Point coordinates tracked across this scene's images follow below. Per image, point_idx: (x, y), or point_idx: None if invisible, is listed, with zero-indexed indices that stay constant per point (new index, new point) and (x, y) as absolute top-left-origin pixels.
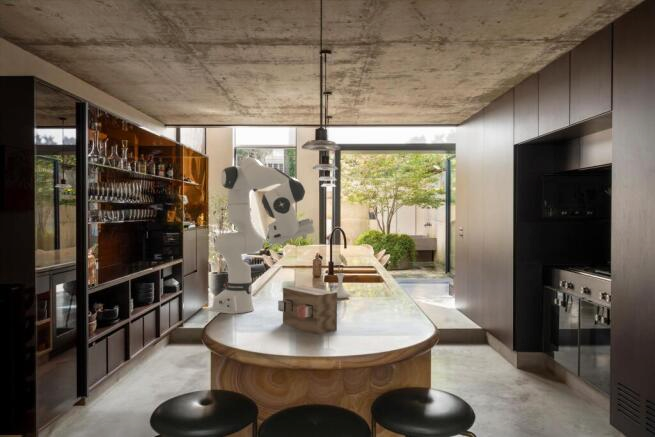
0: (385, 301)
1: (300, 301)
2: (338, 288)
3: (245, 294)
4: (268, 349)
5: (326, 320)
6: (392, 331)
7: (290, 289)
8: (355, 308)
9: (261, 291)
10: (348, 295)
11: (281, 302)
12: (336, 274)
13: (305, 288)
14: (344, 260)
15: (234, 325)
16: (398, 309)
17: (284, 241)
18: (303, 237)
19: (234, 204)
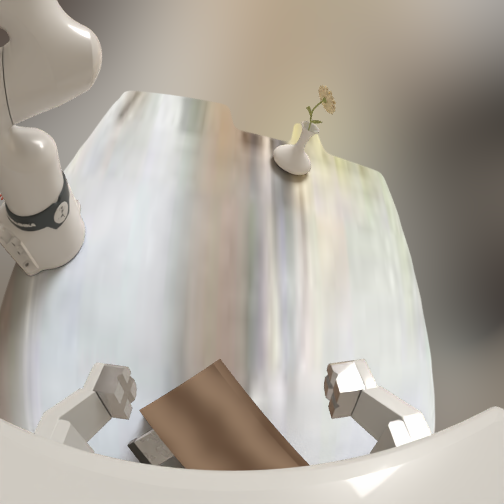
0: (368, 209)
1: None
2: (294, 151)
3: (49, 233)
4: None
5: None
6: None
7: (171, 451)
8: (325, 257)
9: (144, 95)
10: (308, 170)
11: (139, 460)
12: (302, 126)
13: (231, 433)
14: (331, 105)
15: (28, 402)
16: (395, 276)
17: (116, 403)
18: (342, 416)
19: None
